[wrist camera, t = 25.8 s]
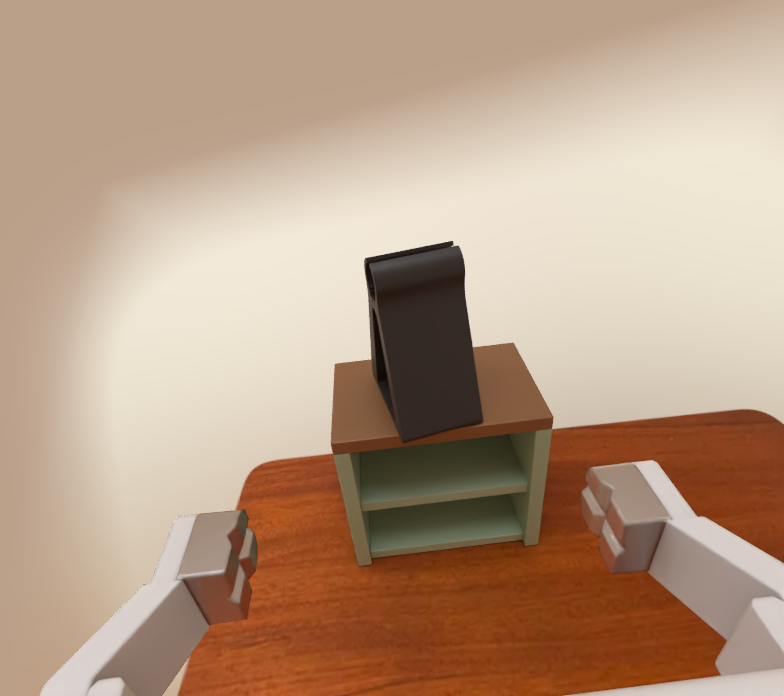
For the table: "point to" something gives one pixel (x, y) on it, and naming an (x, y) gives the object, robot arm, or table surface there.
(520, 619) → the table surface
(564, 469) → the table surface
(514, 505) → the shelf
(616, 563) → the robot arm
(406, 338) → the phone stand
